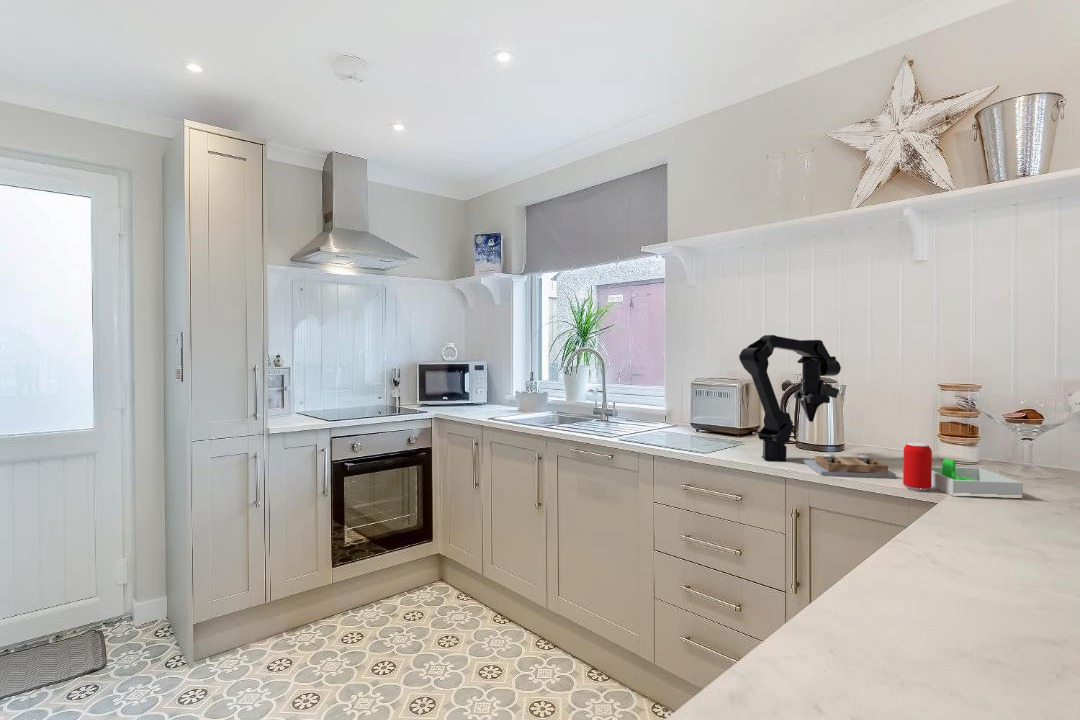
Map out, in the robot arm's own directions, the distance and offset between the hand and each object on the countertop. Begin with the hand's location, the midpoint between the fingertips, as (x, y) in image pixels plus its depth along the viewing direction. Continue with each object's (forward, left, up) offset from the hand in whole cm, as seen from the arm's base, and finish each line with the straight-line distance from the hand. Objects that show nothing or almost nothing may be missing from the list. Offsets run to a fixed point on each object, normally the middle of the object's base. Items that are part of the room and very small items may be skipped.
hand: (810, 421), depth 190 cm
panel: (+4, -24, -10) cm, 26 cm away
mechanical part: (+26, -39, -12) cm, 48 cm away
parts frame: (+27, -40, -12) cm, 50 cm away
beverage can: (+14, -42, -12) cm, 46 cm away
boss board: (+4, -21, -12) cm, 25 cm away
